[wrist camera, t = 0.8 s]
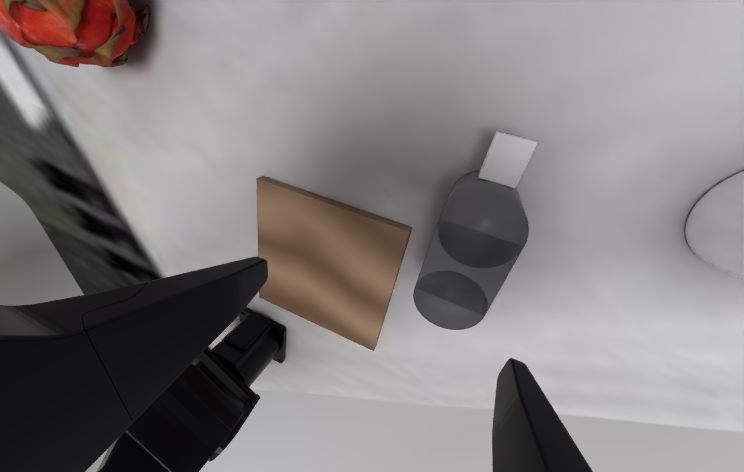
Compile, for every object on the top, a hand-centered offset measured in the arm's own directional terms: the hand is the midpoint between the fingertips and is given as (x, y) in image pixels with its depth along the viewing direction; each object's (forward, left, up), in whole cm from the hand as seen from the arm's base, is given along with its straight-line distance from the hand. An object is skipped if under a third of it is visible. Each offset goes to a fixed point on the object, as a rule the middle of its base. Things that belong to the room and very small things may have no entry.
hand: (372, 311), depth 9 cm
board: (-9, +8, -12) cm, 17 cm away
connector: (0, -3, -12) cm, 13 cm away
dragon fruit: (+8, +29, -12) cm, 32 cm away
